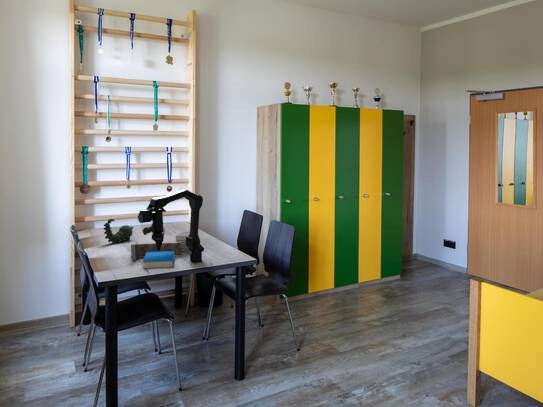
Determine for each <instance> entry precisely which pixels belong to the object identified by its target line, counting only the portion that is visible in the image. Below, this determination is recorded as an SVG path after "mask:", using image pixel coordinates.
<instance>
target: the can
mask: <svg viewBox="0 0 543 407" xmlns="http://www.w3.org/2000/svg"><path fill="white" fill-rule="evenodd" d="M189 234H190V231H179V232H176V233H175V235H174V236H175V242H181V254H190V253H191V251H190V250H189V249H188V247H187V246H186V243H185V242H186V237H188V236H189Z"/></svg>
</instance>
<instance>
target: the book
mask: <svg viewBox="0 0 543 407" xmlns="http://www.w3.org/2000/svg"><path fill="white" fill-rule="evenodd" d="M175 256H176V255H175V253H174V251H158V252H146V255H145V257H143V260H142V263H143V267H142V268H144V269H149V268H169V267H174V264H175V263H174V262H175Z"/></svg>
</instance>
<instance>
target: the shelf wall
mask: <svg viewBox="0 0 543 407" xmlns="http://www.w3.org/2000/svg"><path fill="white" fill-rule="evenodd" d="M158 251H174V253H175V256H182V253H181V242H176V241H173V242H172V241H171V242H168V241H166V242H162V245H161V248H160V250H158V249H157V246H156V243H155V242H149V243H148V242H147V243H145V242H144V243H143V242H142V243H137V258H144V257H145V255H146V252H158ZM130 252H131V253H130V254H131V255H130V257H131V258H132V243H130Z"/></svg>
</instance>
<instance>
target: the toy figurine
mask: <svg viewBox="0 0 543 407" xmlns="http://www.w3.org/2000/svg"><path fill="white" fill-rule="evenodd" d="M115 221H116V220H115V219H114V218H110V219H108V220H107V222H105V223H104V224H103V227H104V228H103V230H104V232H103V233H104V235H106V236H104V239H107V242H108V243H118V244H120V243H121V242H125V241H131V237H132V236H133V229H134V227H135V226H130V225H127V224H126V225H125V224H124V225H122V226H121V227H119V229H118V231H117V232H116V233H114V232H113V231H112V226H111V224H112V222H115Z"/></svg>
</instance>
